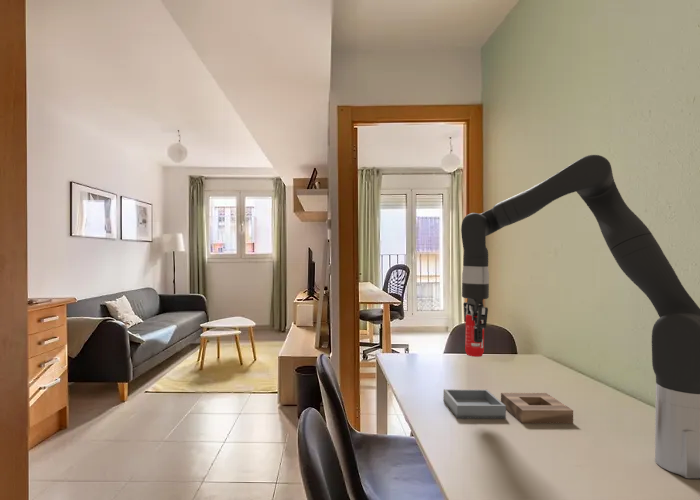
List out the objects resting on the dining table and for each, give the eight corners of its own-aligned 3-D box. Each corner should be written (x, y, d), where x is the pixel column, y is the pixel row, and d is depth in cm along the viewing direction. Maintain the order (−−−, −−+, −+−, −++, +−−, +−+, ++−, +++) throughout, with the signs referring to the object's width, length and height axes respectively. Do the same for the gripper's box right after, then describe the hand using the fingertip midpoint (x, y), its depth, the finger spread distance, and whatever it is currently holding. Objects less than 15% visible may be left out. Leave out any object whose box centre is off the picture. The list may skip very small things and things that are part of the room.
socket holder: (573, 423, 111) (573, 410, 111) (522, 423, 110) (522, 410, 110) (545, 404, 125) (546, 392, 125) (500, 404, 124) (501, 392, 124)
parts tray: (505, 418, 113) (505, 405, 113) (457, 418, 112) (457, 405, 113) (486, 400, 127) (487, 389, 127) (443, 400, 126) (443, 389, 126)
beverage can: (463, 355, 119) (464, 314, 119) (467, 352, 123) (467, 312, 123) (482, 358, 116) (482, 315, 116) (485, 354, 121) (485, 313, 121)
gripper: (497, 283, 113) (497, 345, 113) (479, 280, 127) (478, 335, 127) (471, 283, 113) (470, 345, 112) (455, 280, 127) (454, 335, 127)
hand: (474, 339), depth 120 cm, fingers closed on beverage can, 5 cm apart
